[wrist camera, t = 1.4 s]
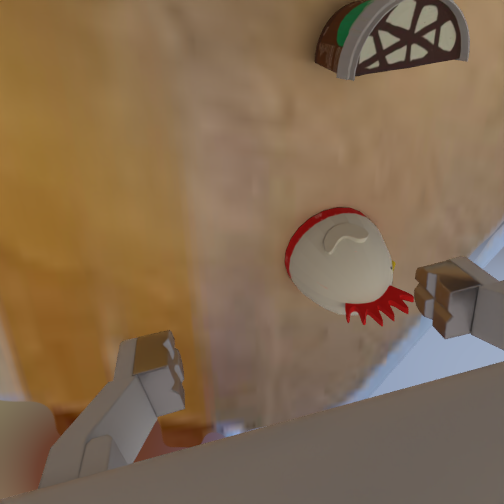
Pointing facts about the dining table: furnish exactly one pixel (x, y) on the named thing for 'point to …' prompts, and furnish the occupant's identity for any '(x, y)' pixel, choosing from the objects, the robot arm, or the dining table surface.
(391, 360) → the dining table surface
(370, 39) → the food container
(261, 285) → the dining table surface
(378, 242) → the kitchen timer
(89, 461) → the robot arm
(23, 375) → the dining table surface
